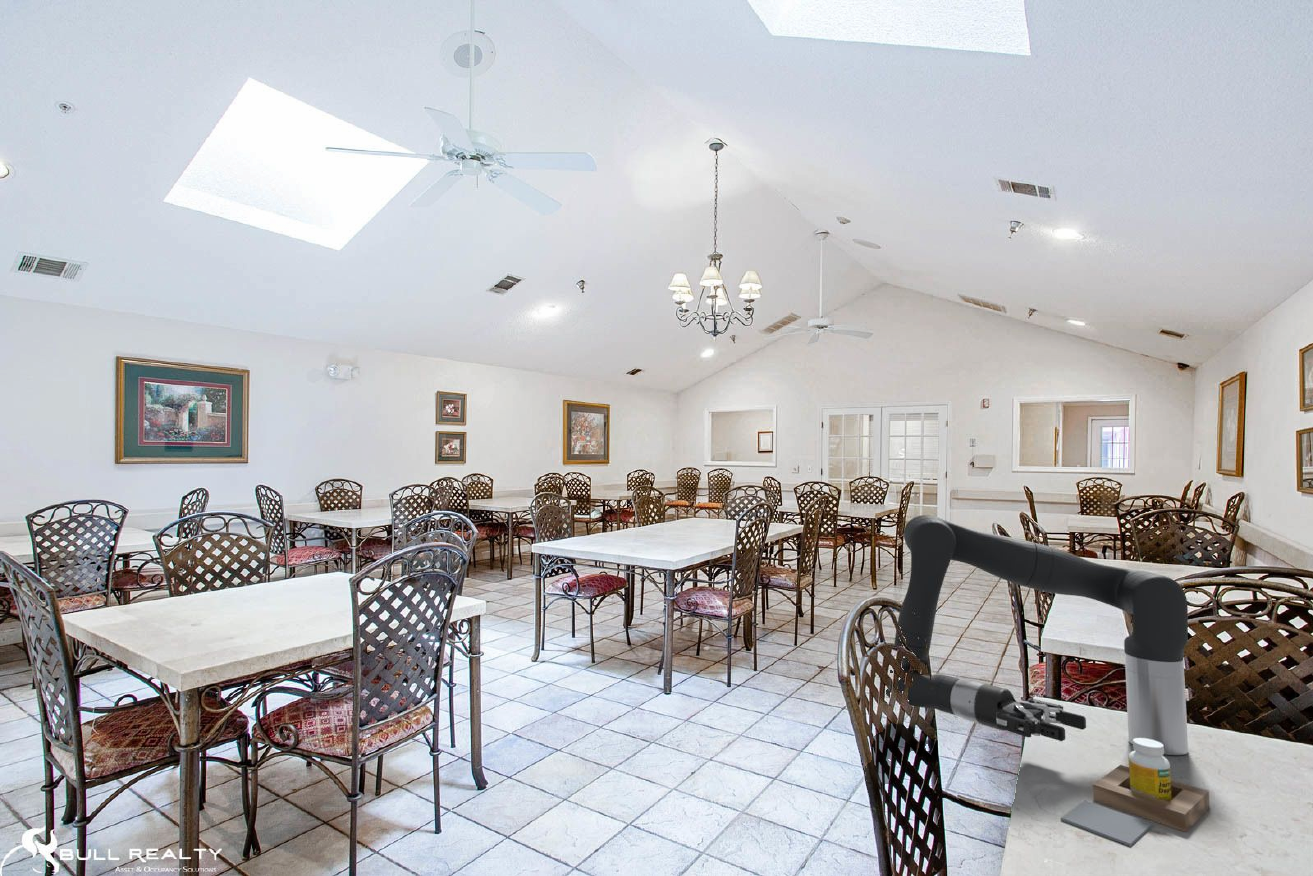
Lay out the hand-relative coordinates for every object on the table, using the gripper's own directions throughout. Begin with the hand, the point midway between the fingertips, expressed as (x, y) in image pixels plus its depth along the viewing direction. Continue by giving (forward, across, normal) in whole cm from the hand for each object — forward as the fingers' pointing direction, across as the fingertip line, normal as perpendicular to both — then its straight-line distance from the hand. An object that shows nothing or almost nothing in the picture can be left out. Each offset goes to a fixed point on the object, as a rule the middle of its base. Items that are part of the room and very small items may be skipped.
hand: (1075, 729), depth 114 cm
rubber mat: (+9, -12, +8) cm, 17 cm away
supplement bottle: (+11, 0, +9) cm, 14 cm away
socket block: (+11, 0, +8) cm, 14 cm away
